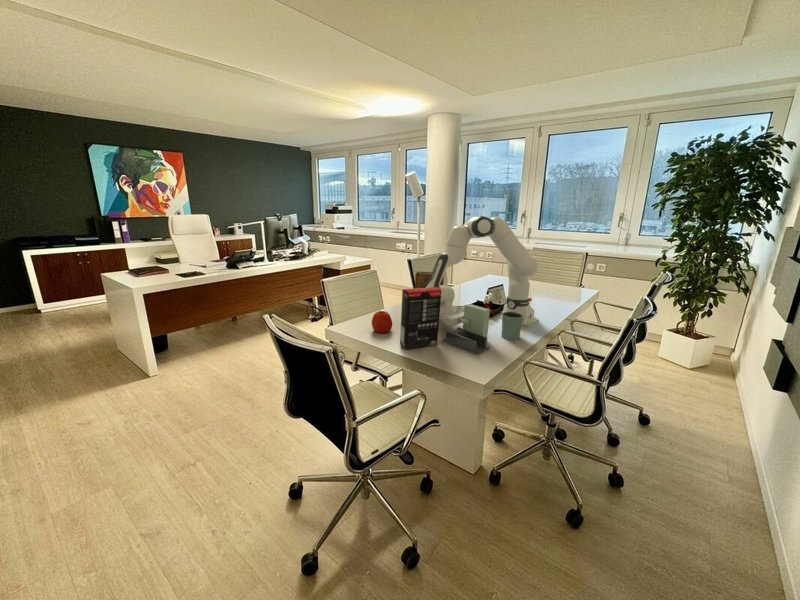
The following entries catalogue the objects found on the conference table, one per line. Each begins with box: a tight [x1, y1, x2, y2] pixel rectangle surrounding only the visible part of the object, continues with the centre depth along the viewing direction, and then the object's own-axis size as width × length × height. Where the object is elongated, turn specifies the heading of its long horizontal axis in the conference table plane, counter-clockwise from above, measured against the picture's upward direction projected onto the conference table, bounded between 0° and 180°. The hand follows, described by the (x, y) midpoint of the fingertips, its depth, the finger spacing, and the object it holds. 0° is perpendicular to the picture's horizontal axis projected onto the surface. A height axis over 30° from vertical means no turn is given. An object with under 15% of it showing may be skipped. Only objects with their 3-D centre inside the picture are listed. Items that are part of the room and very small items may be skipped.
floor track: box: [442, 326, 490, 355], centre depth 159 cm, size 9×20×6 cm, turn 40°
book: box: [414, 271, 445, 289], centre depth 203 cm, size 16×6×25 cm, turn 80°
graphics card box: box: [399, 287, 441, 350], centre depth 155 cm, size 17×7×27 cm, turn 114°
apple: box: [371, 310, 393, 334], centre depth 175 cm, size 11×11×11 cm
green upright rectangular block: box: [462, 303, 491, 338], centre depth 167 cm, size 4×12×16 cm, turn 40°
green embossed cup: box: [501, 312, 523, 341], centre depth 170 cm, size 10×10×12 cm
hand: (473, 321), depth 168 cm, fingers closed on green upright rectangular block, 4 cm apart
